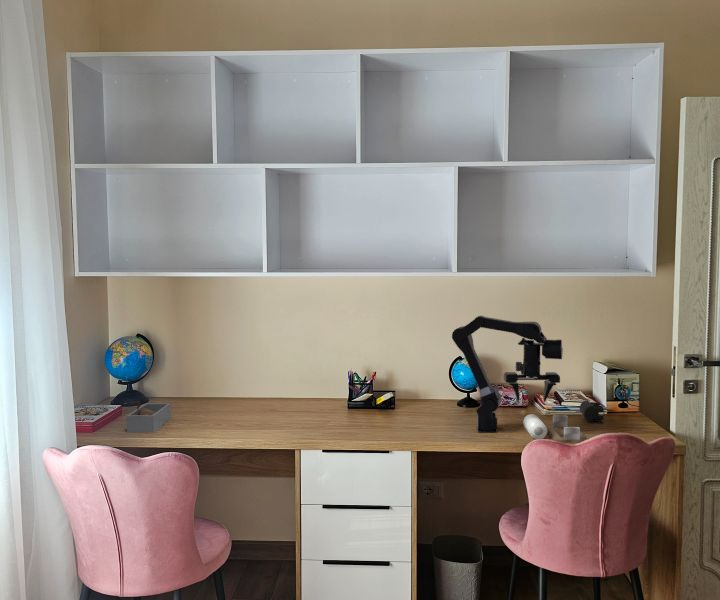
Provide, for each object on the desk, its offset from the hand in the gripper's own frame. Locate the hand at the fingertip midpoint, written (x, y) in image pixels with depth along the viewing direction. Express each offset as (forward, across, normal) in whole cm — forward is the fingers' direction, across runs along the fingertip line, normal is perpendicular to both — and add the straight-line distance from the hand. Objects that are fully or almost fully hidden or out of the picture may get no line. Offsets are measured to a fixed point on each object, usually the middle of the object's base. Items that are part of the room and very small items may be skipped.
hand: (531, 401), depth 248 cm
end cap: (+12, -27, -20) cm, 36 cm away
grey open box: (+12, +142, -10) cm, 143 cm away
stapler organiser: (+12, +140, -10) cm, 141 cm away
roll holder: (+12, -12, +1) cm, 17 cm away
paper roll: (+12, 0, 0) cm, 12 cm away
